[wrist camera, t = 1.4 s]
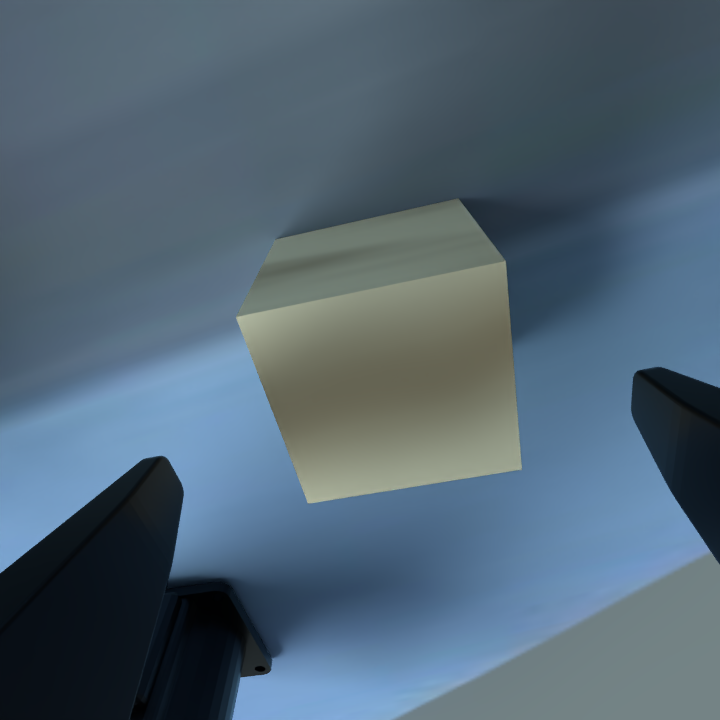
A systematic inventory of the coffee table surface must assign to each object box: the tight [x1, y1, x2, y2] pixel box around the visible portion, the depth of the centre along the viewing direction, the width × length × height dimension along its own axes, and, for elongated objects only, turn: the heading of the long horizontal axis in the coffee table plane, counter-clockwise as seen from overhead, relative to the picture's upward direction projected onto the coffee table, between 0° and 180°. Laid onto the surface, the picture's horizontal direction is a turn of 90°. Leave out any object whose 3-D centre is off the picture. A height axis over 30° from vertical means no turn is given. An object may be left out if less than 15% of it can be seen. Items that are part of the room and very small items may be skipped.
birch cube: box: [236, 199, 522, 504], centre depth 12 cm, size 5×5×5 cm
